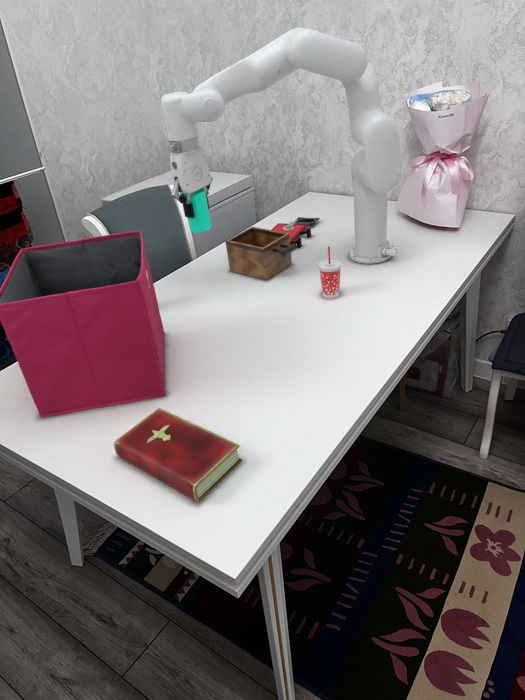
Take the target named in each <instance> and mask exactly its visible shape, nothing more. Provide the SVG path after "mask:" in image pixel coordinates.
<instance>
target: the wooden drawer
mask: <svg viewBox="0 0 525 700" xmlns="http://www.w3.org/2000/svg"><path fill="white" fill-rule="evenodd" d="M224 244H225V247H226V252H227V261H228V268H229V271H230V272H233V273H238V274H242V275H245V276H248V277H253V278H257V279H261V280H265V281H268V280H270V279H271V278H272V277H274V276H275V275H277V274H278V273H280V272H281V271H283V270H284V269H287V268H288V267H290V266H291V265H292V264H293V262H292V261H293V259H292V252H295V251H296V250H297V249H298V248H297V244H292V245H290V234H289V233H284V232H278V231H273V230H271V229H267V228H262V227H257V226H250V227H248V228H247V229H244V230H243V231H241V232H239V233H237V234H235V235H234V236H231V237H230V238H228V239H226V240H225V243H224Z"/></svg>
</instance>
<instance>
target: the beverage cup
mask: <svg viewBox="0 0 525 700" xmlns="http://www.w3.org/2000/svg"><path fill="white" fill-rule="evenodd" d="M327 256H328V259H326V260H322V261H320V262H319V263H318V264H317V266H318V267H317V268H318V270H319V276H320V277H319V278H320V284H321V292H322V297H323V298H325V299H330V300H331V299H336V298H338V297H340V288H341V268H342V262H340V261H339V260H337V259H331V246H327Z"/></svg>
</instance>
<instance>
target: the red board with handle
mask: <svg viewBox="0 0 525 700" xmlns="http://www.w3.org/2000/svg"><path fill="white" fill-rule="evenodd" d="M320 219H321V218H320V217H304V216H303V217H300V216H298V217H297V218H296V219H295V220H294V221H290V222H289V223H282V222H281V223H280V222H279V223H276V225H274V226H273V227H272V228H271V229H270V230H273V231H278V232H284V233H289V234H290V246H291V245H292V244H296V245H297V249H300V248H301V247H302V246H303V244H302V237H300V236H303V235H306V239H310V238H311V237H312V228H311V227H308V226H314V225H316V223H317V222H318V221H319V220H320Z"/></svg>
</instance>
